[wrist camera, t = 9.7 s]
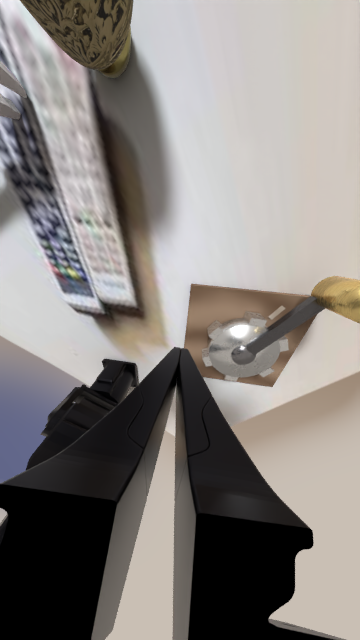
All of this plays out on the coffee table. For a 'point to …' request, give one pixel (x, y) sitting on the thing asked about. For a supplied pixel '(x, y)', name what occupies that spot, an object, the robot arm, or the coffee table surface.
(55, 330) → the coffee table surface
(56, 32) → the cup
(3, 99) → the caliper
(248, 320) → the ring nut
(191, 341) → the nut base
